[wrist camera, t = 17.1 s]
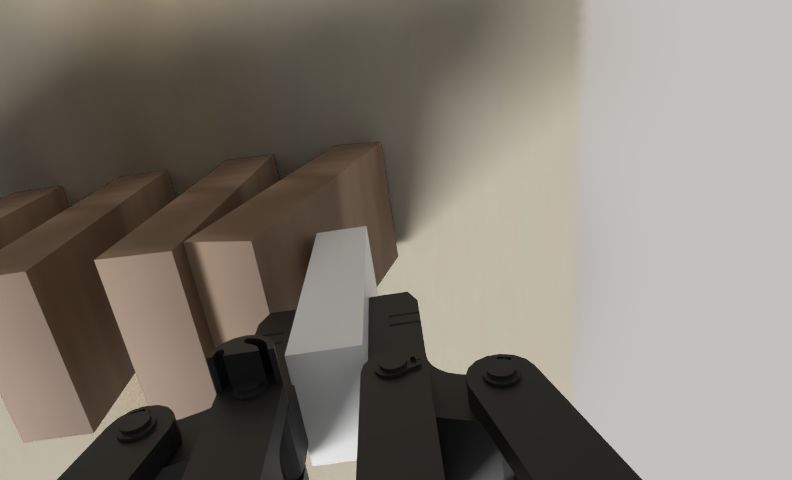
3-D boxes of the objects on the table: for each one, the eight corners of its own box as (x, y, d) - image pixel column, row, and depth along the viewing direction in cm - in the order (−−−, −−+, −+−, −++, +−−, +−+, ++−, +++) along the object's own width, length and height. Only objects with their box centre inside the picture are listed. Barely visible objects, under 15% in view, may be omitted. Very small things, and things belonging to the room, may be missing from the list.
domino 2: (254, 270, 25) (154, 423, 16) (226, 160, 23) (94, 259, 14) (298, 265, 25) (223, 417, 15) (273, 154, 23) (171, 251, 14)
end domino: (355, 256, 25) (231, 402, 16) (335, 145, 23) (183, 241, 14) (398, 256, 24) (293, 408, 15) (380, 142, 22) (251, 241, 14)
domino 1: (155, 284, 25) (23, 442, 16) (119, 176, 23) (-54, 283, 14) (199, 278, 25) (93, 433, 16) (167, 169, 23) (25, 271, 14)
